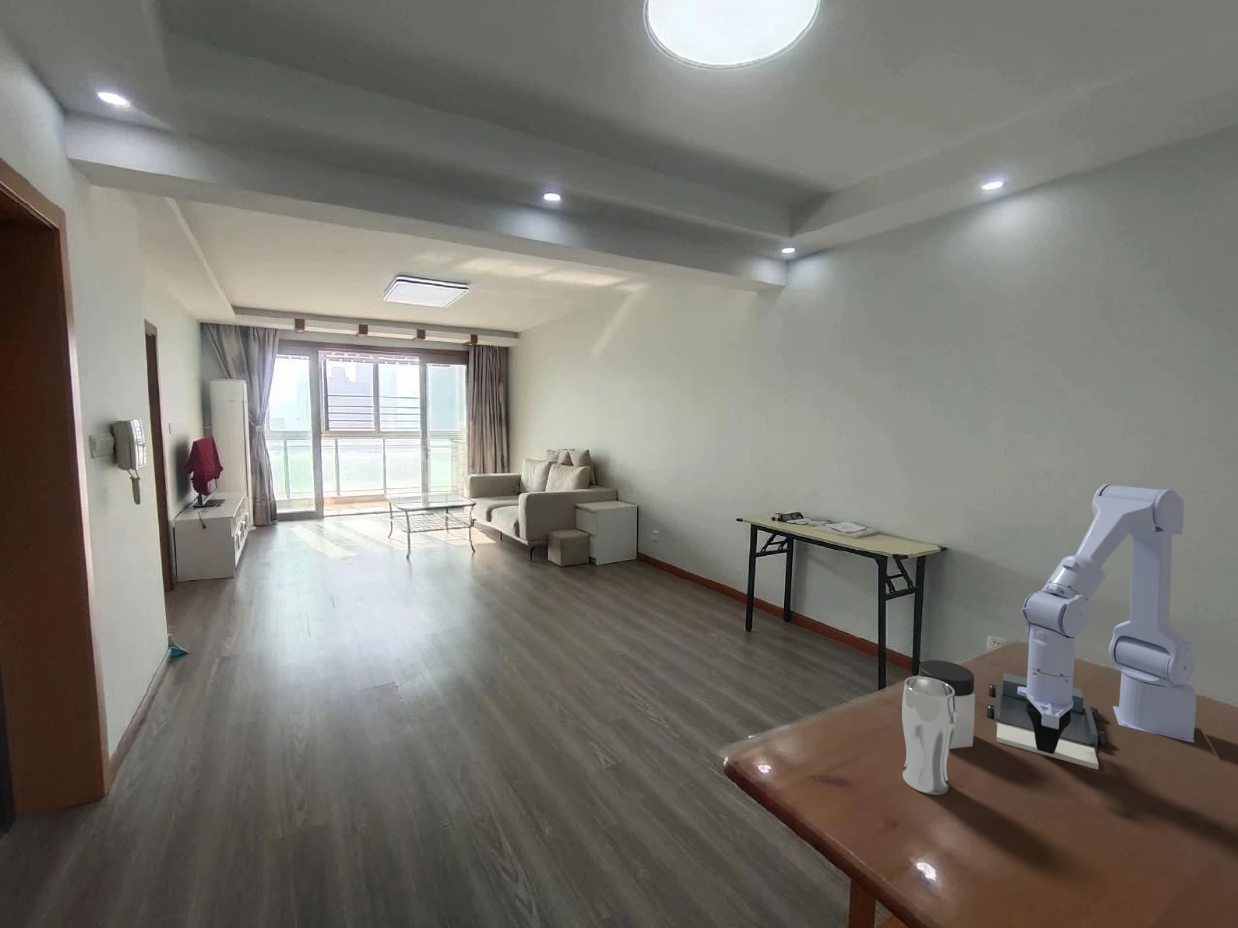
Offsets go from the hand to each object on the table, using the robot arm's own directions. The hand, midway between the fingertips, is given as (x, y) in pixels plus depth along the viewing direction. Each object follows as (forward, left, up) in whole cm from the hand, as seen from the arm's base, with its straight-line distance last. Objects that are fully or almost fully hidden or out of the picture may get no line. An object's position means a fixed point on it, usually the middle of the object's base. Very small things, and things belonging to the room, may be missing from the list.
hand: (1045, 750), depth 89 cm
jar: (+14, +2, -2) cm, 14 cm away
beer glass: (+15, +17, -2) cm, 23 cm away
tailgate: (0, -6, -1) cm, 6 cm away
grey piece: (0, -15, -1) cm, 15 cm away
